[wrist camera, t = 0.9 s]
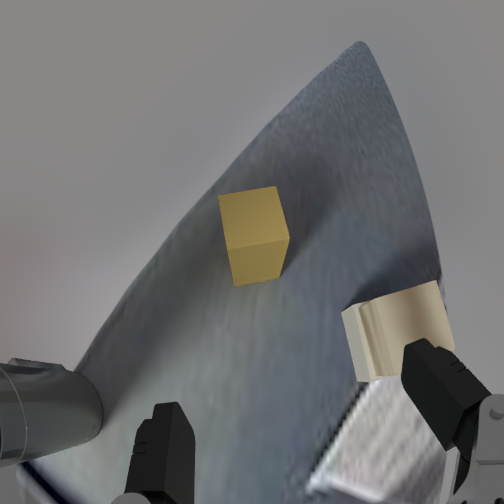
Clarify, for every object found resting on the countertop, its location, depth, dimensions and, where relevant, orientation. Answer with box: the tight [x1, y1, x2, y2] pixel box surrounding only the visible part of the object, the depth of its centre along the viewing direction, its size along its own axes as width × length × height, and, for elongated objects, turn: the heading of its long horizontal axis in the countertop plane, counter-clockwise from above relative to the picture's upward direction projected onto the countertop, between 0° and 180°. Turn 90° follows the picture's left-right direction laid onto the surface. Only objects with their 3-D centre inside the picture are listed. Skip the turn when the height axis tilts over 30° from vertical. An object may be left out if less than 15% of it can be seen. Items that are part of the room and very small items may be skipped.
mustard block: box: [218, 186, 290, 287], centre depth 30 cm, size 5×5×11 cm
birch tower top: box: [358, 280, 455, 376], centre depth 26 cm, size 7×7×4 cm
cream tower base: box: [341, 300, 388, 382], centre depth 30 cm, size 8×8×4 cm
